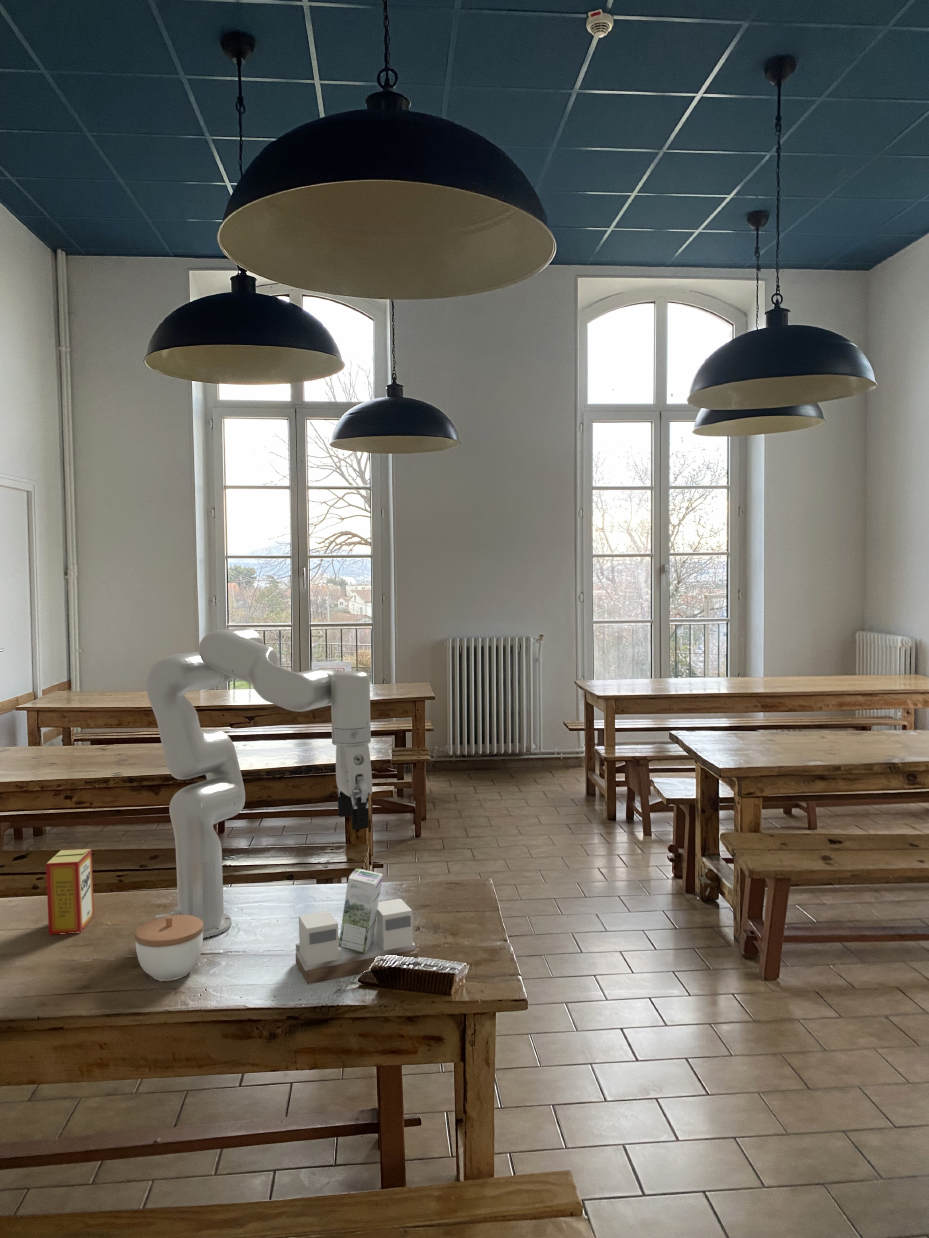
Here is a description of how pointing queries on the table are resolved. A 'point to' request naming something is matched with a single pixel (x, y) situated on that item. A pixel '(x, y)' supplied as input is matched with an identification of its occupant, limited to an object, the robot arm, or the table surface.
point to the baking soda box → (70, 890)
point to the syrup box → (360, 910)
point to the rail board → (347, 962)
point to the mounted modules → (323, 931)
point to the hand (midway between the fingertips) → (353, 822)
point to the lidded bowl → (169, 945)
